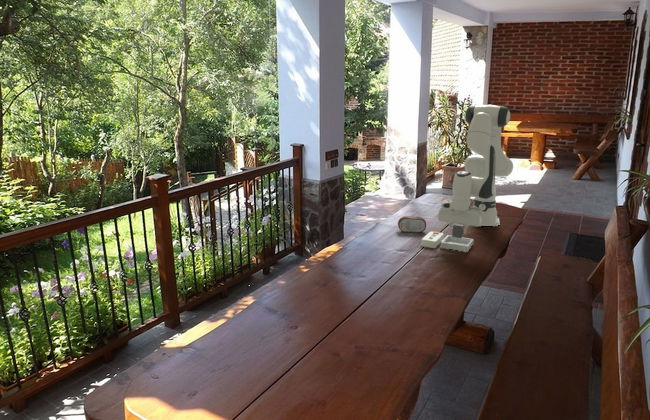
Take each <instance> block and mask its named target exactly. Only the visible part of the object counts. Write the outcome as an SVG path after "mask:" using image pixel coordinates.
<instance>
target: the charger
mask: <svg viewBox="0 0 650 420" xmlns="http://www.w3.org/2000/svg"><path fill="white" fill-rule="evenodd" d="M452 227H453V232H452V231H451V232H452V235H451V236H452V237H456V240H458V239H459V238H462V237H463V238H464V233H462V232H463V231H462V230H463V229H465V225H463V224H456V223H454V225H452Z"/></svg>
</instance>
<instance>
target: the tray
mask: <svg viewBox="0 0 650 420" xmlns="http://www.w3.org/2000/svg"><path fill="white" fill-rule="evenodd" d="M439 245H440V247H439V248H440V249H443V248H446V249H445V250H449V249H453V250H452V251H455V250H458V251H457V252H461V251H463V253H466V252H467V253H469V251H470V250H471V248H472V247H473V246H474V239H473V238H468V237H464V236H463V237H462V238H459V239H458V240H456V237H452V235H449V234H447V235H446V236H444V239H443V240H442V241H441V243H440V244H439ZM472 245H473V246H472ZM471 246H472V247H471ZM469 249H470V250H469Z"/></svg>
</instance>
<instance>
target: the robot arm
mask: <svg viewBox="0 0 650 420" xmlns="http://www.w3.org/2000/svg"><path fill="white" fill-rule="evenodd" d="M510 111H511V110H510V109H509V107H507V106H505V105H494V104H471V105H469V106H468V107H467V108H466V111H465V113H464V114H465V115H464V118H465V122H466V123H467V125H469V127H468V131H467V135H466V145H467V148H468V149H470V150H471V151H472V152H473V153H474V154H475V155H474V154H473V155H469V156H468V157H467V158H465V161H464V165H463V166H464V170H460V171H457V172H455V174H454V177H453V183H452V196H451V199H449V200H444V201H443V202H441V208H440V209H439V211H438V216H437V219H438V221H439V222H444V223H448V226H449V228H450V232H453V224H460V225H464V229H463V230H462V231H463V232H462V233H464V234H466V233H467V229H468V228H469V227H470V226H471V227H481V226H493V227H499V226H498V225H500V224H501V223H500V217H498V210H497V208H496V206H497V200H496V197H497V186H496V177H499V178H501V177H508V176H510V175H511V174H512V172H513V169H514V163H513V161H512V160H511V158H509V157H508V156H507V155H506V154H505V153H504V151H503V148H502V128H503V127H506V126H507V125H508V123H509V122H510V120H511V112H510ZM476 154H477V155H476ZM471 197H474V198H473V205H471ZM500 226H501V225H500ZM464 234H463V235H464Z"/></svg>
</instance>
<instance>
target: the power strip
mask: <svg viewBox="0 0 650 420" xmlns="http://www.w3.org/2000/svg"><path fill="white" fill-rule="evenodd" d="M444 238H445V233H443V232H439V231H432V230H431V231H429V232H428V233H427V234H426V235H424V237H422V239H421V244H420V245H421V247H424V248H431V249H436V248H437V247H438V246H439V245H441V241H442V240H443V239H444Z"/></svg>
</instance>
